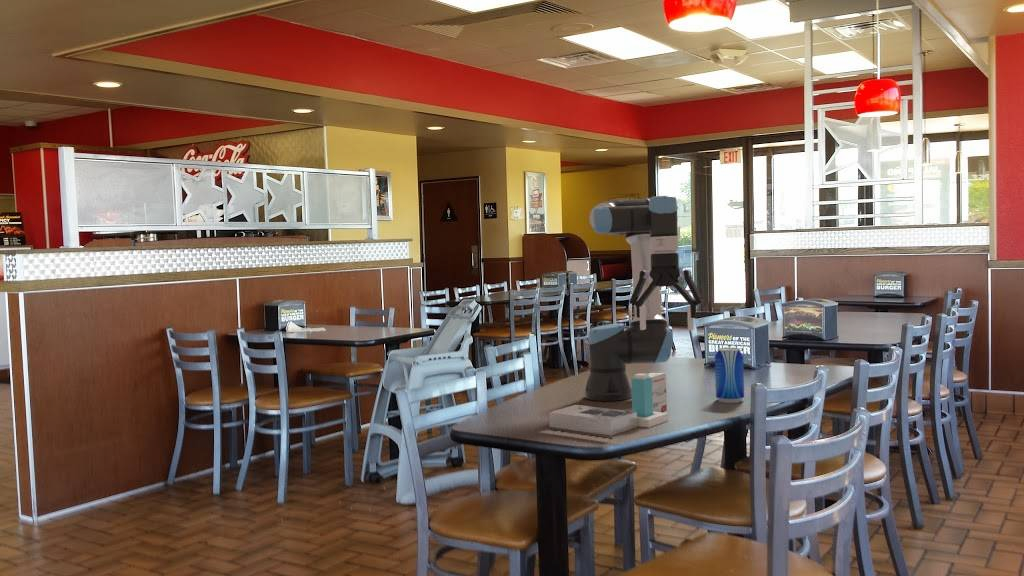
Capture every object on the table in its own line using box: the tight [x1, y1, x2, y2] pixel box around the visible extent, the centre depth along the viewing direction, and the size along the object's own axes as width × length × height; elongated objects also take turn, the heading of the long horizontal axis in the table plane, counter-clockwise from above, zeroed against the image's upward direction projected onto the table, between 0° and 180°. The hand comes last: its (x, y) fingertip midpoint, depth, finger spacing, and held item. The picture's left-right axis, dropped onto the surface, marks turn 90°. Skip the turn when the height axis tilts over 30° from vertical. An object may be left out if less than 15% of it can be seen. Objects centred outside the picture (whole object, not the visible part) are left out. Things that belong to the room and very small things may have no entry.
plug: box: [630, 372, 653, 417], centre depth 236 cm, size 4×4×13 cm
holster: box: [637, 411, 669, 429], centre depth 237 cm, size 10×10×3 cm
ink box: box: [648, 372, 668, 413], centre depth 249 cm, size 9×5×12 cm, turn 141°
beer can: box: [714, 347, 745, 404], centre depth 266 cm, size 8×8×16 cm
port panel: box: [548, 404, 638, 440], centre depth 233 cm, size 20×12×6 cm, turn 49°
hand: (666, 330), depth 239 cm, fingers open, 13 cm apart
